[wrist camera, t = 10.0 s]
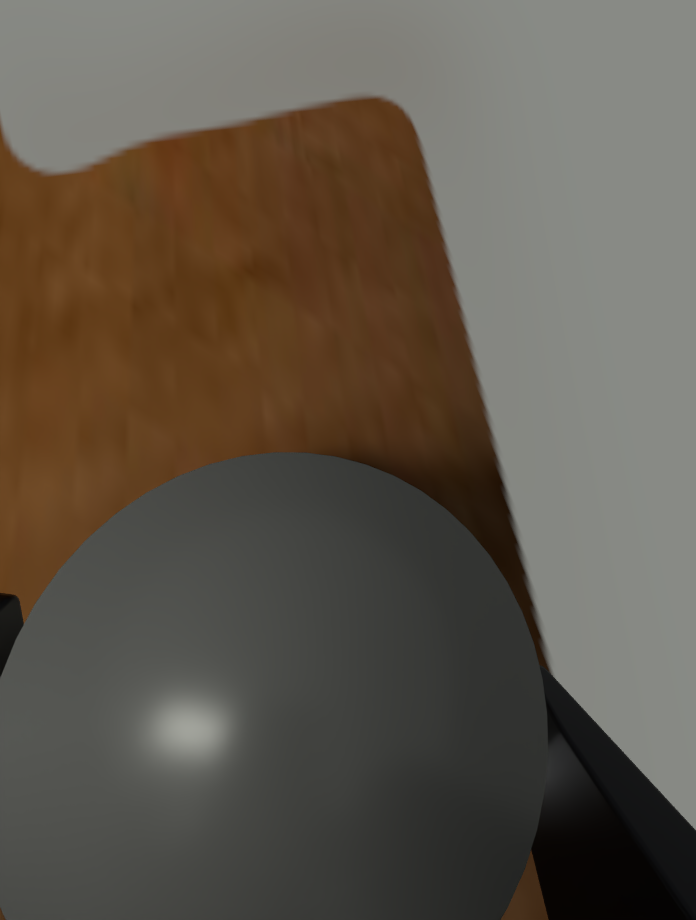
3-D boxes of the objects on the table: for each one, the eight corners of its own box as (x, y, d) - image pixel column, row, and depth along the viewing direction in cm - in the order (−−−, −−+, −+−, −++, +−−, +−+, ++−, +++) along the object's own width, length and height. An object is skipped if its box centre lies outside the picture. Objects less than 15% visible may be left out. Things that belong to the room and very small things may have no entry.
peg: (271, 713, 15) (262, 1275, 3) (184, 612, 16) (-154, 723, 3) (365, 615, 17) (642, 713, 4) (283, 524, 17) (309, 362, 4)
